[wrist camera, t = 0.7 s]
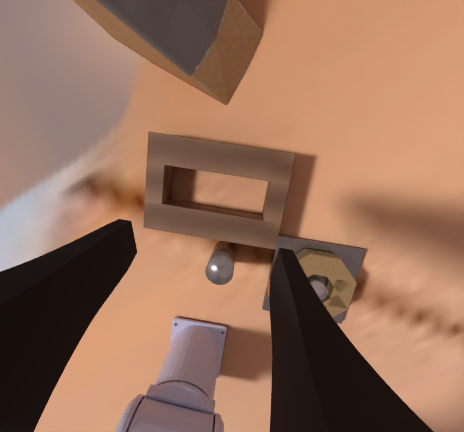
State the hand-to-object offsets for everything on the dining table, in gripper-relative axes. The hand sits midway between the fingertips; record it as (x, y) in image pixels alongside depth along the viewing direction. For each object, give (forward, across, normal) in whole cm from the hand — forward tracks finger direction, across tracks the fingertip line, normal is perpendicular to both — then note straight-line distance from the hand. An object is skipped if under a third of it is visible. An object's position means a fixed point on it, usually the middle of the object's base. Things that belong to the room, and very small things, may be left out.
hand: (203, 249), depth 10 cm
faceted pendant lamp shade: (+12, -11, +15) cm, 22 cm away
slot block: (+16, +2, +5) cm, 17 cm away
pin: (+14, 0, +13) cm, 19 cm away
